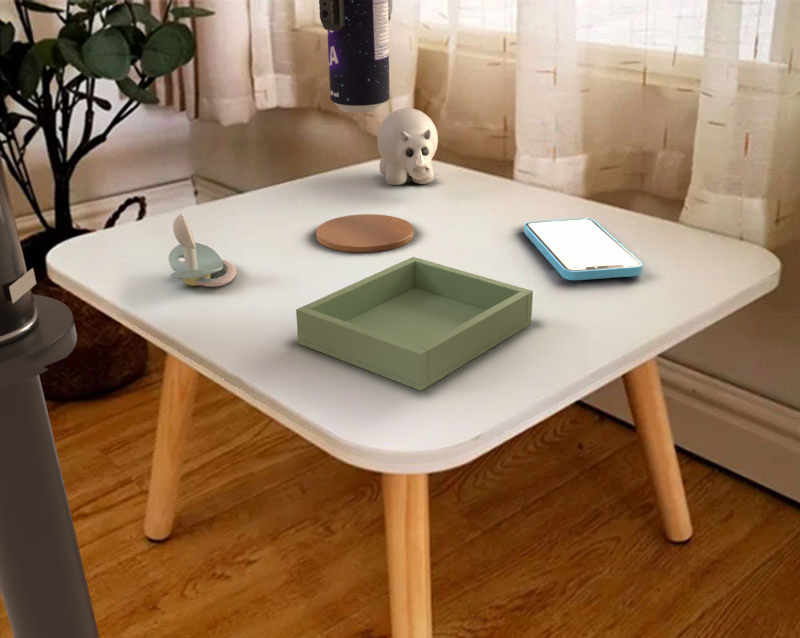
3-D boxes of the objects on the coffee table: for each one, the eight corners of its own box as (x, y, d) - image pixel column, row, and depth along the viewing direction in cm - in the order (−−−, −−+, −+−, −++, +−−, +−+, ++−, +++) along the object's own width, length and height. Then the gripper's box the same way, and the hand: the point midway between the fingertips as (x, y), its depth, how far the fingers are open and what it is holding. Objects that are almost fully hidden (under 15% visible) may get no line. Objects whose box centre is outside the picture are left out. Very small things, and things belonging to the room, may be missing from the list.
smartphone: (591, 217, 98) (646, 266, 85) (590, 228, 99) (644, 278, 86) (521, 222, 98) (566, 272, 84) (521, 233, 98) (565, 284, 85)
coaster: (369, 259, 91) (369, 254, 91) (296, 238, 97) (296, 232, 96) (433, 232, 98) (433, 226, 97) (361, 213, 103) (361, 208, 103)
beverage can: (363, 99, 94) (359, -33, 88) (401, 107, 91) (400, -29, 85) (319, 108, 91) (311, -28, 85) (357, 117, 87) (352, -24, 81)
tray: (420, 391, 68) (420, 354, 67) (298, 343, 75) (295, 309, 74) (531, 324, 78) (533, 290, 76) (413, 287, 85) (413, 256, 84)
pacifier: (232, 262, 91) (169, 267, 90) (227, 199, 88) (162, 203, 87) (241, 291, 85) (173, 296, 84) (236, 224, 82) (166, 229, 81)
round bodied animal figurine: (387, 203, 106) (385, 127, 102) (374, 173, 117) (372, 103, 112) (450, 200, 107) (451, 124, 103) (431, 170, 117) (432, 100, 113)
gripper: (373, -185, 86) (377, 13, 94) (256, -190, 76) (272, 32, 84) (438, -189, 81) (437, 20, 90) (322, -194, 72) (333, 39, 80)
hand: (357, 24), depth 87 cm, fingers closed on beverage can, 5 cm apart
